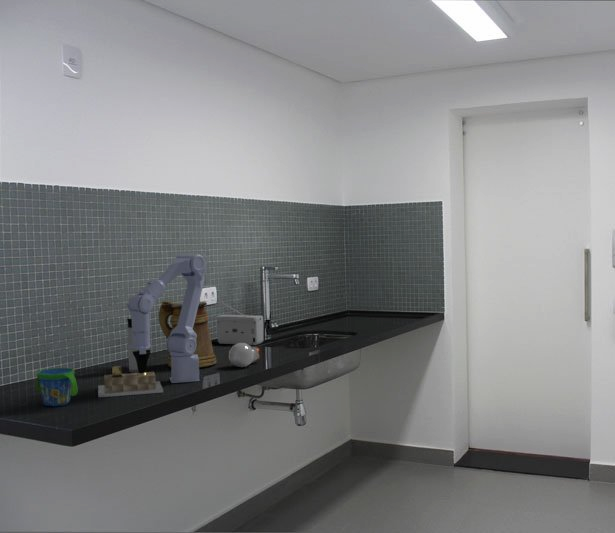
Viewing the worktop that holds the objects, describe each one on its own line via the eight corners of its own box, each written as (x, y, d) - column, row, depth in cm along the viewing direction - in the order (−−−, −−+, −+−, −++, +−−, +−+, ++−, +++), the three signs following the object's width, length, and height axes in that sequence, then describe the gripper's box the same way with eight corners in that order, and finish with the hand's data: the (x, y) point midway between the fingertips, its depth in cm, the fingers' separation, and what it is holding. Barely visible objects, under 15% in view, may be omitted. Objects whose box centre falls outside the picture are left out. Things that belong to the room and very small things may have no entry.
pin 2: (146, 382, 238) (146, 371, 238) (147, 384, 235) (146, 373, 235) (137, 383, 237) (137, 372, 237) (138, 384, 235) (138, 373, 234)
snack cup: (88, 403, 217) (87, 370, 217) (58, 411, 209) (56, 376, 208) (56, 397, 226) (55, 365, 226) (26, 404, 218) (25, 371, 217)
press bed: (159, 384, 245) (159, 381, 245) (163, 392, 231) (163, 389, 231) (98, 388, 239) (98, 385, 239) (98, 397, 226) (98, 394, 226)
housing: (154, 383, 241) (153, 371, 241) (155, 387, 234) (155, 375, 234) (104, 387, 236) (104, 375, 236) (104, 391, 230) (104, 379, 229)
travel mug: (124, 371, 269) (123, 318, 268) (139, 368, 273) (138, 316, 273) (134, 373, 264) (132, 319, 264) (149, 370, 269) (148, 317, 268)
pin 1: (121, 376, 236) (121, 366, 235) (121, 378, 233) (121, 367, 233) (112, 377, 235) (112, 366, 235) (112, 379, 232) (112, 368, 232)
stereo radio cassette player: (264, 343, 333) (263, 300, 332) (256, 346, 325) (255, 302, 324) (224, 341, 340) (223, 299, 339) (215, 344, 332) (214, 301, 332)
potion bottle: (231, 373, 269) (250, 370, 283) (250, 359, 266) (269, 357, 280) (219, 352, 272) (239, 350, 285) (238, 338, 269) (257, 337, 283)
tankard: (204, 370, 268) (203, 303, 267) (148, 368, 275) (146, 303, 273) (223, 362, 285) (222, 299, 284) (169, 360, 292) (168, 298, 291)
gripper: (127, 329, 241) (128, 369, 242) (129, 335, 227) (130, 377, 228) (149, 328, 243) (150, 368, 244) (152, 333, 229) (153, 376, 230)
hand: (142, 372), depth 236 cm, fingers closed, pressing on pin 2
